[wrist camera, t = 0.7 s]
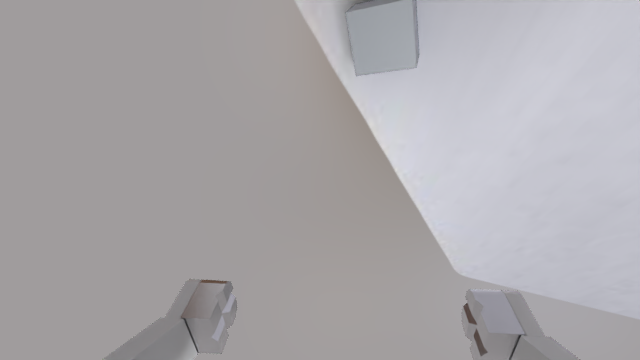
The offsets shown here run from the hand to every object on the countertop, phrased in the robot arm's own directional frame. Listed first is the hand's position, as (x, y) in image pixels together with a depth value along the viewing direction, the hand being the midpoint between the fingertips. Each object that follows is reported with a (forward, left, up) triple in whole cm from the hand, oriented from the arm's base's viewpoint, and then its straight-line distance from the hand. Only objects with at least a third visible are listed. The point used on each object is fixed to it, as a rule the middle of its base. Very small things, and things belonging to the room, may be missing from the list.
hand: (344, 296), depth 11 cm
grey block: (0, -4, -43) cm, 43 cm away
